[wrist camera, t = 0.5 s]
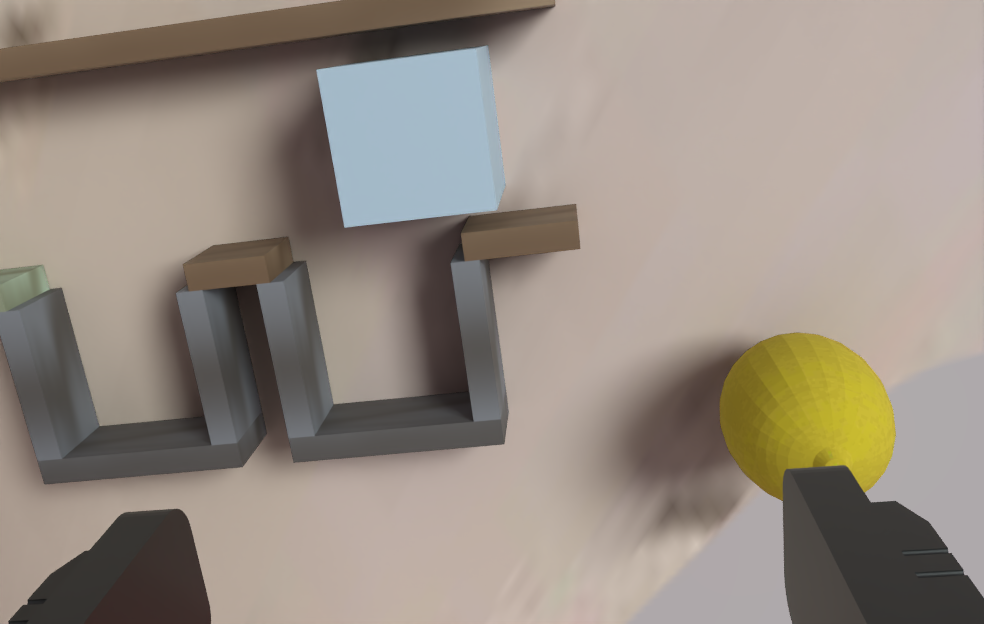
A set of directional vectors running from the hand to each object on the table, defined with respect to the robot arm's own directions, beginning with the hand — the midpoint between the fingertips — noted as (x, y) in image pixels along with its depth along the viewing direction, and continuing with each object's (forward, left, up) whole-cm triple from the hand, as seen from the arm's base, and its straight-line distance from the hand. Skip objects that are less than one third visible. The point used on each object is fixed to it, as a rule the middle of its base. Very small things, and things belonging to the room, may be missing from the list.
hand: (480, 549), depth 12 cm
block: (-4, -3, -23) cm, 24 cm away
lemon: (+7, +9, -23) cm, 26 cm away
